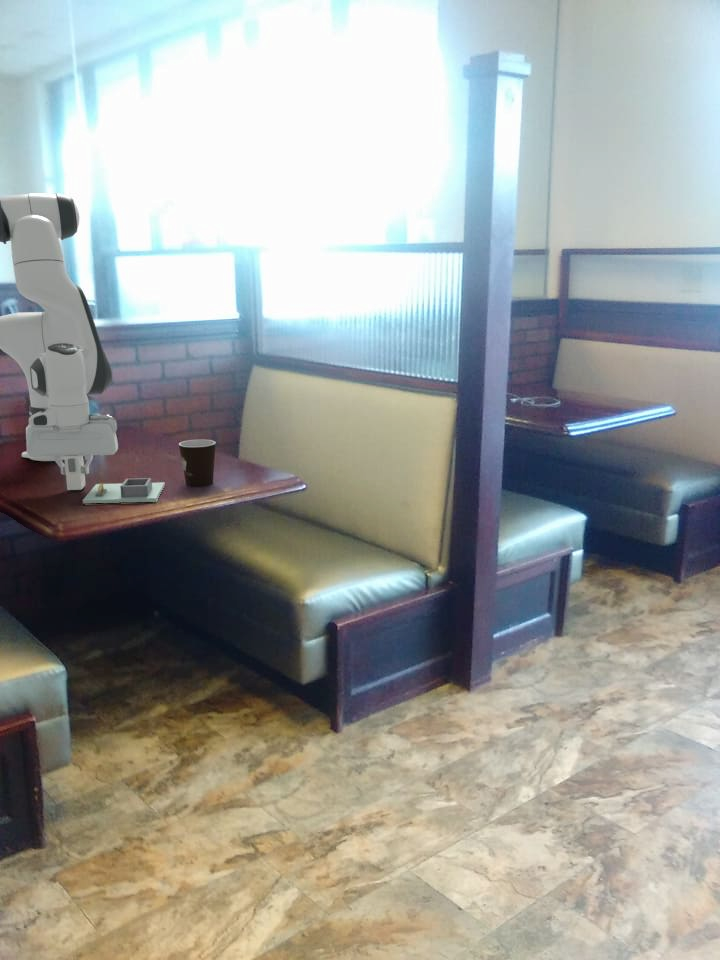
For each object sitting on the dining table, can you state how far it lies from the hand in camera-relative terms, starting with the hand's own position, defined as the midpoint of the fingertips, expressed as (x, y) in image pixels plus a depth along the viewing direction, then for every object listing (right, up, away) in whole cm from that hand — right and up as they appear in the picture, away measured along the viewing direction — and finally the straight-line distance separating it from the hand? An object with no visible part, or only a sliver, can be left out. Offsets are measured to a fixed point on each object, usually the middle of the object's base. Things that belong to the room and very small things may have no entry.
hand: (75, 473), depth 205 cm
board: (+13, -5, -4) cm, 14 cm away
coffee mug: (+28, -2, +7) cm, 29 cm away
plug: (0, -3, +1) cm, 3 cm away
